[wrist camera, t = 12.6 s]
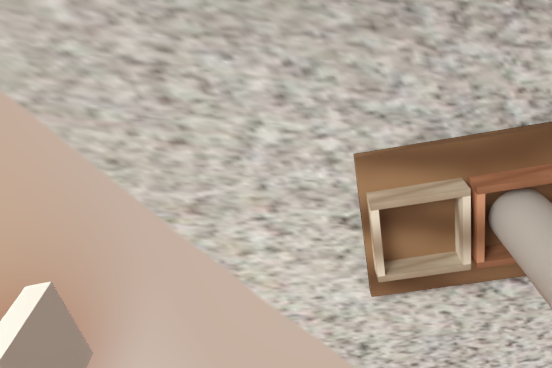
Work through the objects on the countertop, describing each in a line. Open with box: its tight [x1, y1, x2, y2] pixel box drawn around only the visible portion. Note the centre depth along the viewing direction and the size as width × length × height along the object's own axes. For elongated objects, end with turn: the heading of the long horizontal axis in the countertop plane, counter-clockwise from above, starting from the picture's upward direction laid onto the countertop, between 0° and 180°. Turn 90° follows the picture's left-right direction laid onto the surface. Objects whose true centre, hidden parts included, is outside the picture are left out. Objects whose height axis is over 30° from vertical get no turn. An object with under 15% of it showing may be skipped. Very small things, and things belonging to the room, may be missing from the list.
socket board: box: [354, 122, 552, 297], centre depth 39 cm, size 14×17×3 cm
